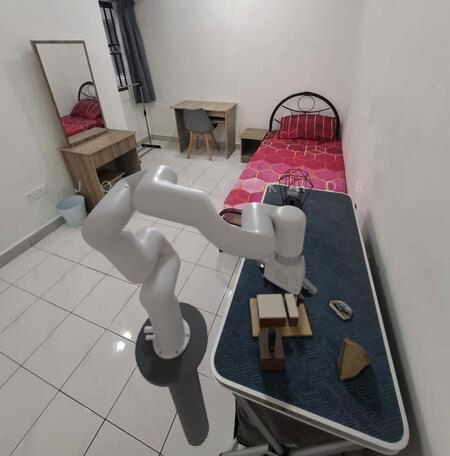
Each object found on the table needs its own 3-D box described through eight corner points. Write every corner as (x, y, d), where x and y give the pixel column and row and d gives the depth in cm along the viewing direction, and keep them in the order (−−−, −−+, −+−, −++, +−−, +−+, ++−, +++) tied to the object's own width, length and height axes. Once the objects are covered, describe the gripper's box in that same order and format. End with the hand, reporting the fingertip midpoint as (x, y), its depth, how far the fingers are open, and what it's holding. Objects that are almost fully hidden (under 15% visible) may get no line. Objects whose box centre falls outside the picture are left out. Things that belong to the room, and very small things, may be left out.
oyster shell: (348, 324, 84) (349, 321, 83) (325, 309, 88) (326, 306, 88) (354, 309, 88) (355, 306, 87) (332, 295, 93) (333, 292, 92)
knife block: (260, 370, 73) (261, 358, 70) (258, 344, 80) (258, 332, 77) (283, 369, 73) (285, 358, 70) (279, 343, 79) (280, 331, 76)
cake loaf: (259, 327, 83) (259, 317, 81) (256, 304, 90) (256, 294, 88) (285, 326, 83) (286, 316, 80) (280, 303, 90) (281, 293, 87)
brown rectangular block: (288, 326, 83) (290, 316, 80) (283, 303, 90) (284, 293, 87) (297, 326, 83) (299, 316, 80) (291, 303, 90) (293, 293, 87)
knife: (268, 360, 75) (269, 335, 68) (266, 349, 77) (267, 324, 71) (274, 360, 75) (276, 335, 68) (272, 349, 77) (274, 324, 71)
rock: (368, 341, 77) (335, 332, 78) (381, 350, 69) (345, 339, 71) (368, 384, 72) (333, 373, 74) (382, 398, 64) (344, 385, 66)
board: (253, 337, 81) (253, 335, 81) (249, 299, 93) (249, 298, 93) (311, 336, 81) (312, 334, 80) (301, 298, 93) (301, 296, 92)
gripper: (250, 245, 63) (250, 287, 71) (316, 278, 54) (308, 323, 61) (263, 228, 68) (262, 269, 76) (326, 256, 59) (317, 299, 67)
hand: (283, 293), depth 69 cm, fingers open, 9 cm apart
